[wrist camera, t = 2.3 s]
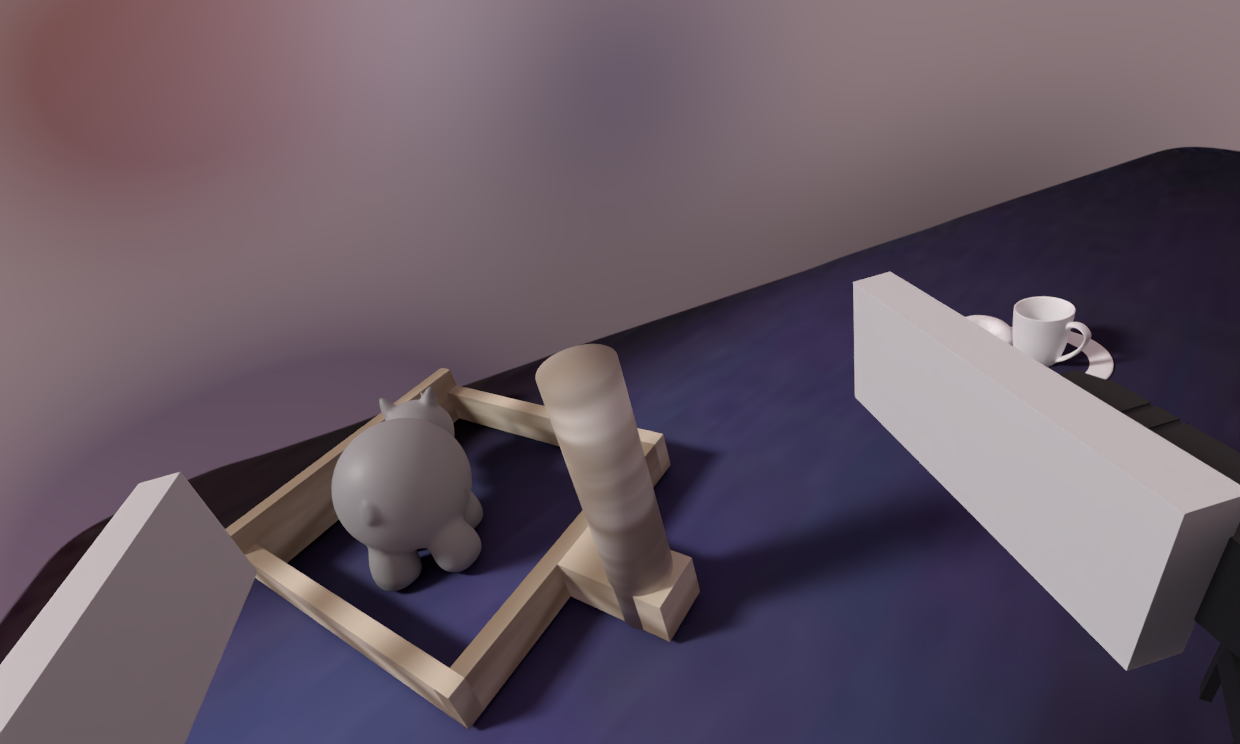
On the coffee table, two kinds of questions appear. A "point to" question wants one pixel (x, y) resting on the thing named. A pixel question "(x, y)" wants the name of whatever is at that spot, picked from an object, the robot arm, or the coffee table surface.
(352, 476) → the chubby cartoon animal
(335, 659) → the coffee table surface
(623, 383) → the pull frame
